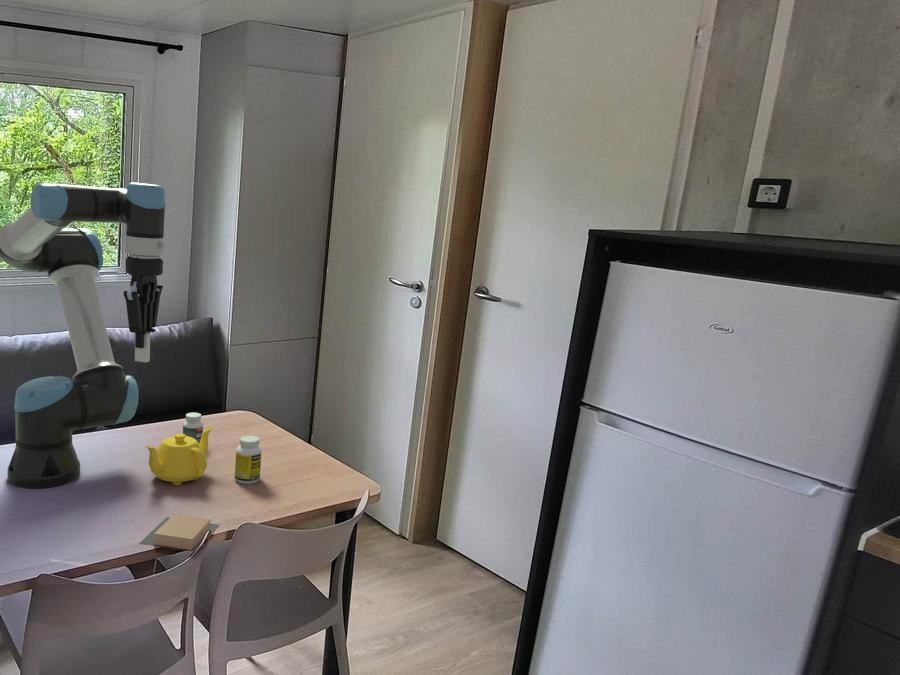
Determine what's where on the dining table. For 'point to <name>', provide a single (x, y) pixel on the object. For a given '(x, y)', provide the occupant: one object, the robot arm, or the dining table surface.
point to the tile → (182, 531)
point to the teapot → (179, 458)
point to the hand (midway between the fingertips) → (142, 360)
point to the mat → (150, 541)
